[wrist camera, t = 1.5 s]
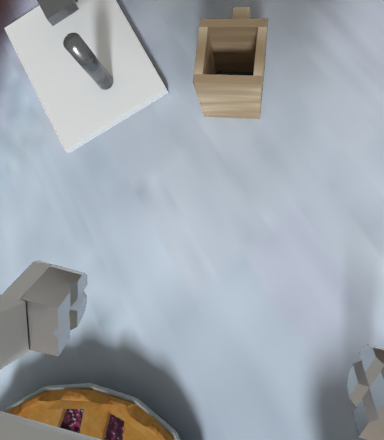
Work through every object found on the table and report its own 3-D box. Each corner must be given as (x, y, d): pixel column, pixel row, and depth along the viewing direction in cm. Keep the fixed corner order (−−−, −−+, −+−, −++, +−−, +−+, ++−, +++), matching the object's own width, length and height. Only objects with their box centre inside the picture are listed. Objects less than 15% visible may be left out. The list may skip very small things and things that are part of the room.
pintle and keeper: (125, 85, 37) (91, 39, 30) (100, 100, 38) (61, 58, 30) (76, -3, 40) (33, -68, 32) (53, 11, 40) (5, -49, 32)
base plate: (168, 92, 37) (166, 88, 36) (69, 152, 38) (64, 150, 37) (100, -26, 39) (96, -33, 38) (10, 33, 40) (4, 28, 39)
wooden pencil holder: (259, 118, 35) (261, 84, 28) (204, 116, 36) (193, 82, 29) (269, 17, 36) (273, -41, 29) (215, 17, 37) (206, -39, 30)
